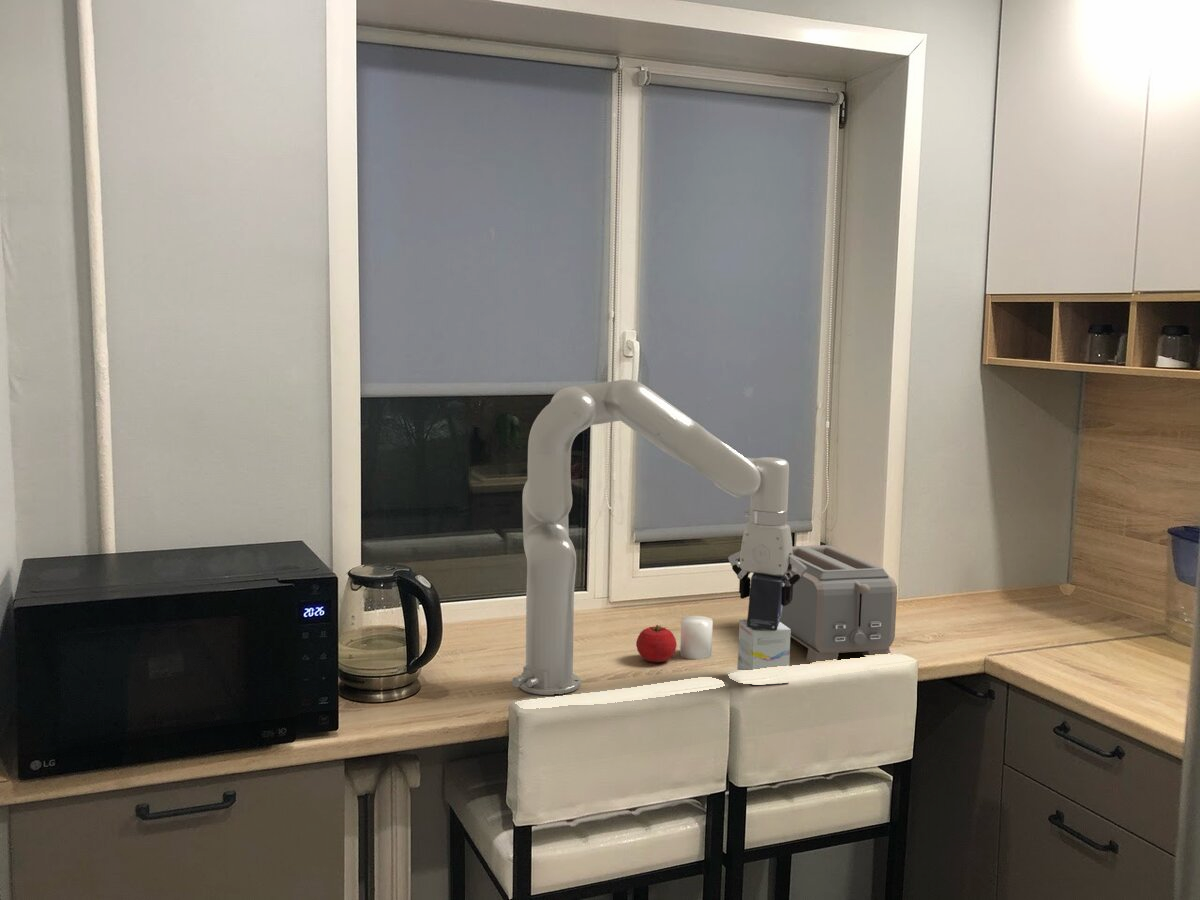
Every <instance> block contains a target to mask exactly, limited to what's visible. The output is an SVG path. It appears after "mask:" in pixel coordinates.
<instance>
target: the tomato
mask: <svg viewBox="0 0 1200 900" xmlns="http://www.w3.org/2000/svg"><path fill="white" fill-rule="evenodd" d="M668 628H669V627H668V626H667V627H662V626H661V625H658V624H656V626H648V627H646V628H644V629H642V630H641V632H640V633H639V635H638V636H637V638H636V641H635V642H636V650H637V652H638V653H639V655H640V657H641V658H643V659H644V660H645V661H648V662H651V663H663V662H667V661H668V660H669V659H670V658H672V657H673V655H674V654H675V653H676V649H677V646H678V645H677V640H676V637H675V636H674V634H673V632H672V631H671V630H670V629H668Z"/></svg>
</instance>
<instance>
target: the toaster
mask: <svg viewBox="0 0 1200 900" xmlns="http://www.w3.org/2000/svg"><path fill="white" fill-rule="evenodd" d="M792 549H793V556H794V557H795V558H796V559H797V560H799V561H800V562H801V563H803V564H804V565H805V566H806V567H807V570H806V571H805V573H804V574H803V576H802V578H801V579H800V580H798V581H797V582H796V583H795V584H794V585H793V599H792V601H791V603H790V604H788V605H786V606H782V614H781V619H780V622H781V623H782V624H784V625H785V626H787V627H788V628H789V629H791V633H790V638H792V639H794V640H795V641H796V642H798V643H799V644H801V645H803V646H804V647H806V648H807V655H806V661H807V660H808V661H807V662H809V663H810V662H816V661H825V660H833V659H837V660H838V658H839V653H843V654H844V653H857V652H861V654H862V656H863V655H875V654H888V653H891V650H890V647H892V644H893V642H894V641H895V637H896V620H897V619H896V618H897V603H898V602H897V600H898V597H897V596H898V588H897V587H898V585H897V583H896V581H895V579H893V578H892V577H891V576H889V574H888V573H887V571H886V570H885V568H884V567H881V566H879V565H876V564H873V563H872V562H869V561H868V560H867V561H866V560H865V559H862V558H859V557H857V556H855V555H852V554H850V553H848V552H845V551H843V550H840V549H838V548H836V547H834V546H831V545H827V544H826V545H823V544H821V545H799V546H798V545H797V546H795V545H794V546H793V545H792ZM796 572H797V569H796V568H795V567H794V566H793V565H792V570H791V572H790V573H791V574H792V576H794V575H795V573H796ZM784 585H785V584H784ZM891 654H892V653H891Z"/></svg>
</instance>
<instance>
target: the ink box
mask: <svg viewBox="0 0 1200 900" xmlns="http://www.w3.org/2000/svg"><path fill="white" fill-rule="evenodd" d="M738 629H739V630H738V631H739V632H738V649H737V667H736V668H737V669H736V670H753V669H760V668H767V667H777V666H787V665H789V666H790V656H791V655H790V654H791V653H790V652H791V651H790V649H791V637H790V633H791V629H789V628H788V627H787V626H785V625H784V624H782V623H781V622H779V625H778V627H777V630H776V631H774V630H766V629H759V628H751V627H747V619H739V628H738Z"/></svg>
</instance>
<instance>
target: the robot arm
mask: <svg viewBox="0 0 1200 900" xmlns="http://www.w3.org/2000/svg"><path fill="white" fill-rule="evenodd" d="M615 422H622V423H623V424H624V425H626V426H627V427H629V428H630V429H632V430H633V431H635V432H636V433H637V434H639V435H641V436H642V437H643V438H645V439H646V440H647V441H649V442H650V443H652V444H653V445H654V446H655V447H656V448H658V449H660V450H661V451H662V452H664V453H665V454H667V455H669V456H670V457H672V458H673V459H675V460H676V461H679V462H681V463H683V464H685V465H687V466H689V467H690V468H692V469H694V470H695V471H697V472H699V473H700V474H701V475H703V476H704V477H706V478H707V479H709V480H710V481H712V482H713V483H714V485H715V486H716V487H717V488H718V489H720V490H721V491H723V492H725V493H727V494H729V495H730V496H732V497H735V498H738V499H746V498H749V497H750V506H749V509H745V510H744V513H743V514H744V516H745V517H747V518H748V521H749V522H746V523H745V525H744V529H743V535H742V539H741V545H740V550H739V551H738V552H735V553H733V554H731V555H729V556H728V557H727V559H728V562H729V564H730V566H731V569H732V571H733V573H735V574H736V576H737V579H738V580H739V584H738V585H739V587H738V593H739V594H740V595H739V597H740V599H741V600H742V599H746V598H747V597H749V595H750V583H751V577H749V575H750V574H751V573H752V574H753V573H758V574H764V575H770V576H780V578H781V579H782V581H783V583H784V584H785V585H784V586H783V587H782V603H781V604H782V606H786V605H788V604H790V603H791V601H792V599H793V585H794V584H795V583H796V582H797V581H798V580H800V579H801V578H802V576H803V574H804V573H805V571H806V570H807V567H806V566H805V565H804V564H803V563H801V562H800V561H799V560H797V559H796V558H795V557H794V556H793V549H792V546H793V539H792V532H791V527H790V525H788V507H789V505H788V504H789V503H788V502H789V484H790V483H789V482H790V481H789V479H790V464H789V462H788V460H786V459H784V458H779V457H770V456H769V457H767V456H765V457H758V458H757V457H756V458H752V457H744V456H743V454H740V453H739V452H738V451H736V450H735V449H733V448H732V447H731V446H729V445H728V444H727V443H725V442H723V441H722V440H721V439H719V438H718V437H716V436H715V435H714V434H712V433H711V432H710V431H708V430H707V429H705V427H704V426H702V425H701V424H699V423H698V422H697V421H695V420H694V419H692V418H691V417H690V416H688V415H687V414H685V413H684V412H682V411H681V410H679V409H678V408H677V407H675V406H674V405H672V404H671V403H670V402H669V401H667V400H665V398H663V397H662V396H660V395H658V394H657V393H656V392H655V391H653V390H652V389H650V388H649V387H648V386H646V385H645V384H643V383H641V382H640V381H637V380H633V379H618V380H613V381H612V380H611V381H604V382H599V383H590V384H583V385H576V386H575V385H574V386H568V387H565V388H564V387H563V388H561V389H560V390H558V391H557V392H556V393H555V394H554V395H553V396H552V397H551V400H550V402H549V403H548V404H547V405H545V407H544V408H543V409H542V410H541V411H540V412H539V414H537V417H536V418H535V420H534V421H533V423H532V426H531V429H530V431H529V435H528V441H527V480H526V482H525V483H524V487H523V489H522V499H521V500H522V533H523V534H522V536H523V538H522V540H523V550H524V553H525V558H526V570H527V571H526V592H525V593H526V600H525V601H526V602H525V603H526V604H525V608H526V609H525V610H526V611H525V614H526V615H525V618H526V619H525V665H524V666H523V672H521V674H519V675H516V676H515V677H513V678H512V679H511V684H512V686H514V687H515V688H520V689H521V690H522V691H524V692H527V693H530V694H534V695H541V696H542V695H543V696H555V695H554V694H559V695H565V694H568V693H572V692H575V691H576V690H577V689H579V688H580V686H581V678H580V677H579V676H578V675H577V674H575V673H574V634H575V633H574V629H575V628H574V627H575V623H574V622H575V621H574V620H575V618H574V617H575V584H576V573H577V553H576V550H575V547H574V543H573V541H572V540H571V538H570V533H569V514H570V512H571V509H572V507H573V493H572V491H573V490H572V478H571V477H572V475H571V474H572V473H571V470H572V469H571V466H572V465H571V462H572V447H573V443H574V440H575V438H576V437H577V436H578V435H579V434H580V433H582V432H583V431H585V430H587V429H588V428H590V427H591V426H595V425H601V424H602V425H603V424H608V423H615ZM792 565H793V566H794V567H795V568H796V569H797V572H796V573H795V575H794V576H792V574H791V573H790V572H791V570H792ZM564 693H565V694H564Z"/></svg>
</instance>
